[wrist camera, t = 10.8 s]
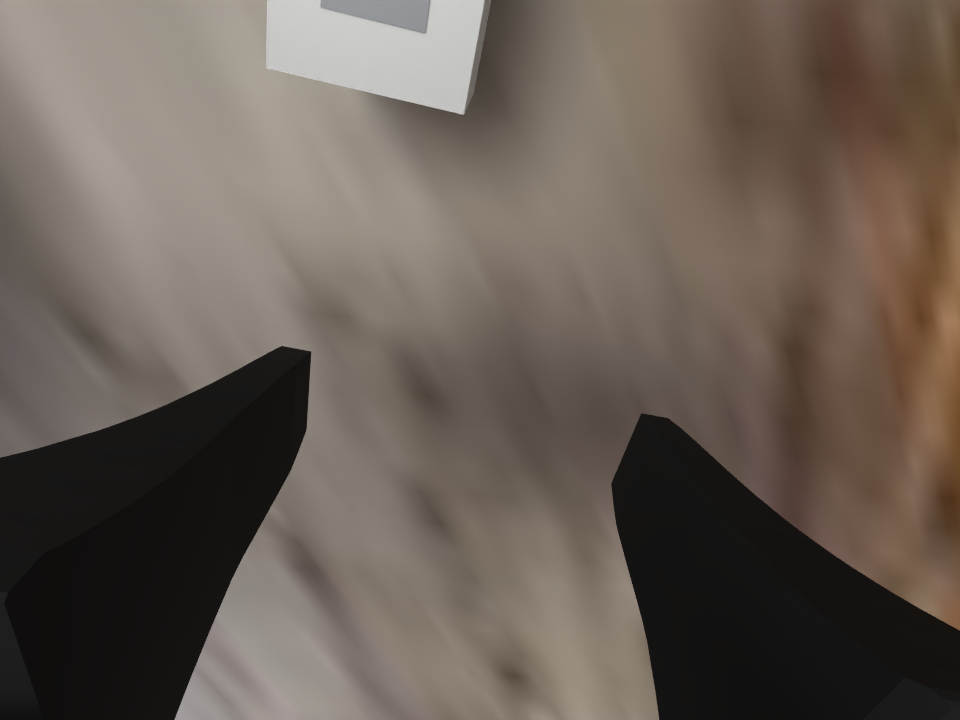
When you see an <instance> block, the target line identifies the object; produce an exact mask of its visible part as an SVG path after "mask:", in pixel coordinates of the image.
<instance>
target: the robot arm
mask: <svg viewBox="0 0 960 720" xmlns="http://www.w3.org/2000/svg"><path fill="white" fill-rule="evenodd" d="M310 363H311V352H310V351H305V350H300V349H294V348H289V347H284V346H281V347H279V348H277V349H275V350H273V351H271V352H269V353H267V354H265V355H264V356H262V357H260V358H258V359H256V360H255V361H253V362H251V363H249V364H247V365H245V366H244V367H242V368H240V369H238V370H236V371H234V372H232V373H231V374H229V375H227V376H225V377H223V378H221V379H219V380H217V381H215V382H214V383H212V384H210V385H208V386H205V387H203V388H201V389H199V390H197V391H195V392H193V393H191V394H188V395H186V396H184V397H182V398H180V399H178V400H176V401H173V402H171V403H169V404H167V405H165V406H162V407H160V408H158V409H155V410H153V411H150V412H148V413H145V414H143V415H140V416H138V417H135V418H132V419H130V420H127V421H124V422H121V423H119V424H116V425H113V426H111V427H108V428H105V429H102V430H99V431H95V432H92V433H89V434H85V435H82V436H79V437H75V438H72V439H69V440H65V441H62V442H58V443H55V444H52V445H48V446H45V447H42V448H38V449H34V450H30V451H26V452H22V453H18V454H14V455H10V456H6V457H2V458H0V720H174V719H175V717H176V714H177V711H178V709H179V706H180V704H181V701H182V698H183V696H184V693H185V691H186V688H187V686H188V683H189V680H190V678H191V675H192V673H193V671H194V668H195V666H196V663H197V661H198V658H199V656H200V653H201V651H202V648H203V646H204V644H205V641H206V639H207V636H208V634H209V631H210V629H211V626H212V624H213V622H214V619H215V617H216V615H217V612H218V610H219V608H220V605H221V603H222V601H223V598H224V596H225V594H226V591H227V589H228V587H229V584H230V582H231V580H232V578H233V576H234V574H235V572H236V570H237V568H238V566H239V564H240V562H241V560H242V558H243V556H244V554H245V552H246V550H247V549H248V547H249V545H250V543H251V541H252V540H253V538H254V536H255V534H256V532H257V531H258V529H259V527H260V525H261V523H262V522H263V520H264V518H265V516H266V514H267V513H268V511H269V509H270V507H271V505H272V504H273V502H274V500H275V498H276V496H277V495H278V493H279V491H280V489H281V487H282V485H283V484H284V482H285V480H286V478H287V476H288V474H289V472H290V471H291V468H292V466H293V463H294V461H295V458H296V456H297V453H298V451H299V448H300V446H301V443H302V440H303V438H304V435H305V432H306V428H307V412H308V395H309V379H310ZM611 484H612V493H613V503H614V511H615V518H616V525H617V529H618V533H619V537H620V540H621V544H622V548H623V552H624V555H625V559H626V563H627V566H628V570H629V574H630V577H631V581H632V584H633V588H634V592H635V595H636V599H637V602H638V606H639V610H640V613H641V617H642V621H643V625H644V629H645V634H646V638H647V643H648V649H649V655H650V661H651V667H652V673H653V679H654V685H655V691H656V698H657V705H658V713H659V720H960V631H959V630H957V629H956V628H954V627H952V626H950V625H948V624H946V623H945V622H943V621H941V620H939V619H937V618H936V617H934V616H932V615H930V614H928V613H926V612H925V611H923V610H921V609H919V608H918V607H916V606H914V605H912V604H911V603H909V602H907V601H906V600H904V599H902V598H900V597H899V596H897V595H895V594H894V593H892V592H890V591H889V590H887V589H885V588H884V587H882V586H881V585H879V584H877V583H876V582H874V581H873V580H871V579H870V578H868V577H866V576H865V575H863V574H862V573H860V572H858V571H857V570H855V569H854V568H852V567H851V566H849V565H848V564H846V563H845V562H843V561H842V560H840V559H839V558H837V557H836V556H834V555H833V554H831V553H830V552H828V551H827V550H826V549H824V548H823V547H822V546H820V545H819V544H817V543H816V542H815V541H813V540H812V539H810V538H809V537H808V536H806V535H805V534H804V533H802V532H801V531H799V530H798V529H797V528H795V527H794V526H793V525H792V524H790V523H789V522H788V521H786V520H785V519H784V518H783V517H781V516H780V515H779V514H778V513H776V512H775V511H774V510H773V509H772V508H770V507H769V506H768V505H767V504H765V503H764V502H763V501H762V500H761V499H759V498H758V497H757V496H756V495H755V494H753V493H752V492H751V491H750V490H749V489H748V488H747V487H745V486H744V485H743V484H742V483H741V482H740V481H739V480H737V479H736V478H735V477H734V476H733V475H732V474H731V473H730V472H729V471H727V470H726V469H725V468H724V467H723V466H722V465H721V464H720V463H719V462H718V461H716V460H715V459H714V458H713V457H712V456H711V455H710V454H709V453H708V452H707V451H706V450H704V449H703V448H702V447H701V446H700V445H699V444H698V443H697V442H696V441H695V440H694V439H692V438H691V437H690V436H689V435H688V434H687V433H686V432H684V431H683V430H682V429H681V428H680V427H679V426H677V425H676V424H675V423H674V422H672V421H671V420H670V419H668V418H663V417H658V416H653V415H647V414H642V413H641V416H640V418H639V420H638V423H637V425H636V427H635V430H634V432H633V434H632V437H631V439H630V441H629V444H628V446H627V448H626V451H625V453H624V455H623V458H622V460H621V462H620V465H619V467H618V469H617V472H616V474H615V476H614V479H613V481H612V483H611Z"/></svg>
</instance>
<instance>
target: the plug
mask: <svg viewBox="0 0 960 720" xmlns="http://www.w3.org/2000/svg"><path fill="white" fill-rule="evenodd" d="M490 5H491V0H267V48H266V68H268V69H272V70H276V71H280V72H285V73H289V74H293V75H297V76H301V77H306V78H310V79H314V80H318V81H323V82H327V83H331V84H335V85H340V86H344V87H348V88H352V89H356V90H361V91H365V92H369V93H373V94H378V95H382V96H386V97H390V98H394V99H399V100H403V101H407V102H411V103H416V104H420V105H424V106H428V107H433V108H437V109H441V110H445V111H449V112H454V113H458V114H462V115H464V113H465V111H466V109H467V107H468V105H469V103H470V101H471V99H472V97H473V95H474V90H475V85H476V80H477V74H478V69H479V64H480V59H481V53H482V48H483V43H484V37H485V32H486V27H487V21H488V16H489V11H490Z"/></svg>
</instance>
